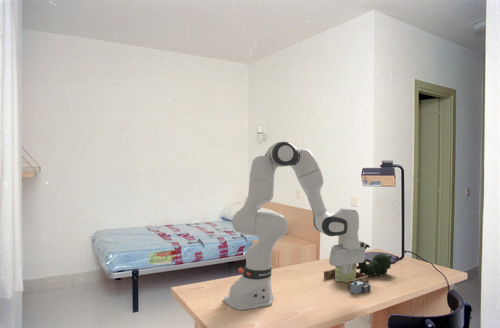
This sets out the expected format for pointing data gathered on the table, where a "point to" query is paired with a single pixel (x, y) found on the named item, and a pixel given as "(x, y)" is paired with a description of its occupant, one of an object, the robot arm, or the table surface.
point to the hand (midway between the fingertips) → (346, 273)
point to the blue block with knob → (356, 287)
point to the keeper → (365, 288)
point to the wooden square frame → (359, 277)
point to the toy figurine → (375, 265)
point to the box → (345, 277)
